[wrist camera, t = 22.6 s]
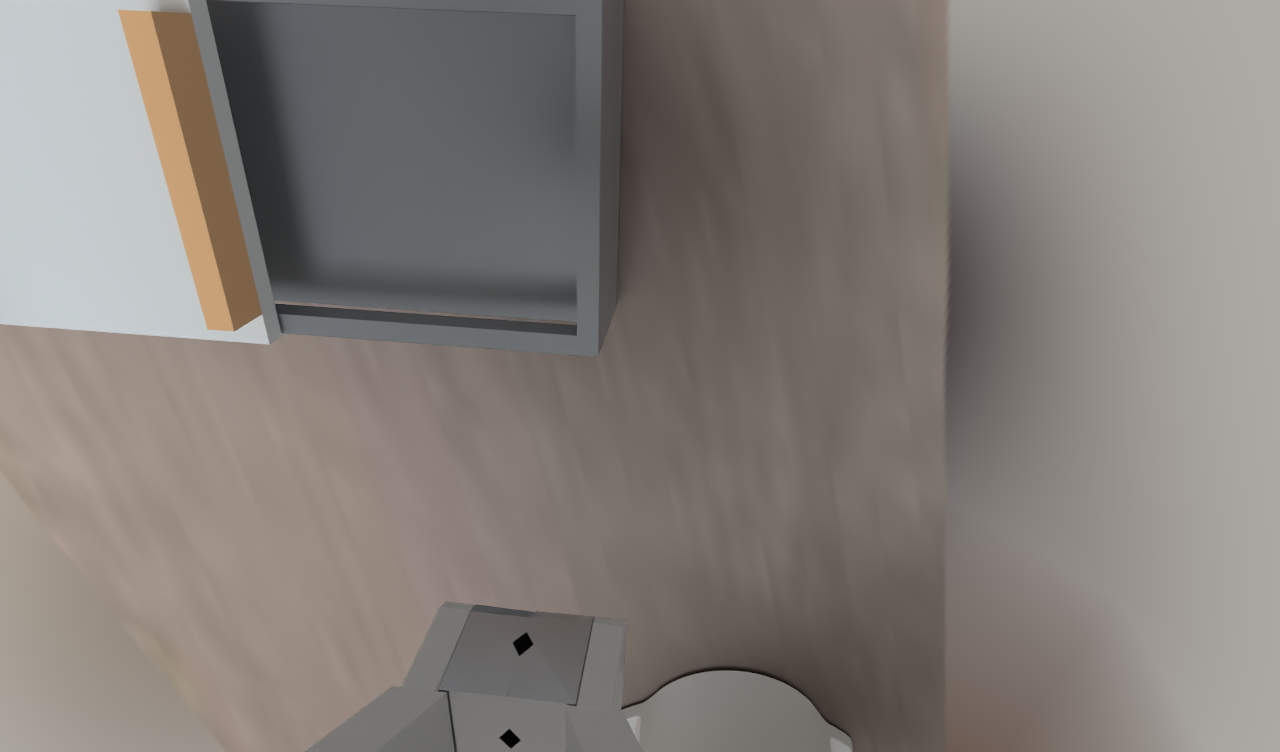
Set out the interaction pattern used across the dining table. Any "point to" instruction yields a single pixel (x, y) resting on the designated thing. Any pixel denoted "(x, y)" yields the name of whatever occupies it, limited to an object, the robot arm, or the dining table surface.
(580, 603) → the dining table surface
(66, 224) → the lid
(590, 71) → the housing
